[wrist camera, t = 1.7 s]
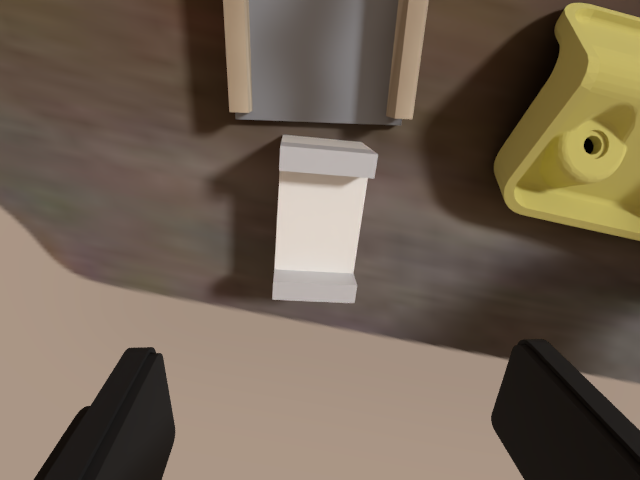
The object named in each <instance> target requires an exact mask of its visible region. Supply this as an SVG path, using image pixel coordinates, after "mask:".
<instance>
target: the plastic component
mask: <svg viewBox="0 0 640 480" xmlns="http://www.w3.org/2000/svg"><path fill="white" fill-rule="evenodd" d="M554 32H555V37H556V39H557V41H558V43H559V45H560V51H559V56H558V59H557V63H556V65H555V67H554V70H553V72H552V74H551V75H550V77H549V79H548V80H547V82H546V83H545V85H544V86H543V88H542V89H541V91H540V92H539V93H538V95H537V96H536V98H535V99H534V101H533V102H532V104H531V105H530V107H529V108H528V110H527V111H526V112H525V114H524V115H523V117H522V118H521V120H520V121H519V123H518V124H517V126H516V127H515V129H514V130H513V131H512V133H511V134H510V136H509V137H508V139H507V140H506V142H505V143H504V145H503V146H502V148H501V149H500V150H499V152H498V154H497V156H496V159H495V162H494V174H495V177H496V180H497V182H498V185H499V187H500V190H501V193H502V195H503V198H504V201H505V203H506V204H507V206H508V207H509V208H510V209H511V210H512V211H514V212H516V213H518V214H520V215H525V216H529V217H534V218H538V219H543V220H547V221H552V222H556V223H561V224H565V225H570V226H575V227H579V228H584V229H588V230H593V231H597V232H602V233H606V234H611V235H615V236H620V237H625V238H629V239H634V240H638V241H640V18H639V17H635V16H631V15H628V14H624V13H620V12H617V11H613V10H609V9H606V8H602V7H599V6H595V5H591V4H585V3H572V4H569V5H567V6H566V8H565V9H564V11H563V12H562V14H561V15H560V17H559V19H558V20H557V22H556V24H555V30H554ZM587 138H588V139H590V140H591V141H592V143H593V145H594V147H593V151H592V153H591V154H588V153H587V152H586V151H585V149H584V141H585V140H586V139H587Z"/></svg>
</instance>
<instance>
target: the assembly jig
mask: <svg viewBox="0 0 640 480" xmlns="http://www.w3.org/2000/svg"><path fill="white" fill-rule="evenodd" d="M428 1H429V0H223V8H224V26H225V43H226V61H227V78H228V96H229V112H235V116H236V119H243V120H270V121H296V122H323V123H350V124H377V125H401V122H402V119H412V118H413V111H414V104H415V96H416V89H417V82H418V74H419V67H420V60H421V52H422V45H423V38H424V30H425V23H426V16H427V8H428Z"/></svg>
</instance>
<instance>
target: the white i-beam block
mask: <svg viewBox="0 0 640 480" xmlns="http://www.w3.org/2000/svg"><path fill="white" fill-rule="evenodd" d="M377 159H378V154H377V153H375V152H374V151H373V150H371V149H370V148H369V147H367V146H366V145H365V144H363V143H362V142H355V141H345V140H334V139H323V138H313V137H302V136H291V135H283V136H282V141H281V145H280V161H279V171H280V174H279V193H278V212H277V231H276V249H275V268H274V278H273V294H272V300H292V301H315V302H337V303H354V302H355V296H356V290H357V283H356V280H355V277H354V274H353V272H354V265H355V259H356V252H357V246H358V239H359V233H360V226H361V219H362V213H363V206H364V200H365V193H366V187H367V180H368V178H374V177H375V171H376V165H377Z"/></svg>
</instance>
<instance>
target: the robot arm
mask: <svg viewBox="0 0 640 480" xmlns="http://www.w3.org/2000/svg"><path fill="white" fill-rule="evenodd" d="M491 421H492V425H493V428H494V430H495V432H496V433H497V435H498V437H499V438H500V440H501V442H502V443H503V445H504V447H505V448H506V450H507V452H508V453H509V455H510V456H511V458H512V460H513V461H514V463H515V465H516V466H517V468H518V470H519V471H520V473H521V475H522V476H523V478H524V479H525V480H640V430H639V429H637V428H636V426H635V425H634V424H632V423H631V422H630V421H629V420H628V419H627V418H626V417H625V416H624V415H623V414H622V413H621V412H620V411H619V410H618V409H617V408H616V407H615V406H614V405H613V404H612V403H611V402H610V401H609V400H608V399H607V398H606V397H604V396H603V394H602V393H600V392H599V391H598V390H597V389H596V388H595V387H594V386H593V385H592V384H591V383H590V382H589V381H588V380H587V379H586V378H585V377H584V376H583V375H582V374H581V373H580V372H579V371H578V370H577V369H576V368H575V367H574V366H573V365H572V364H571V363H569V362H568V361H567V360H566V359H565V358H564V357H563V356H562V355H561V354H560V353H559V352H558V351H557V350H556V349H555V348H554V347H553V346H552V345H551V344H550V343H549V342H547V341H546V340H543V339H531V340H521V341H519V343H518V344H517V345H516V346H514V347H513V349H512V352H511V356H510V359H509V362H508V365H507V368H506V371H505V375H504V378H503V381H502V384H501V387H500V391H499V393H498V396H497V399H496V403H495V406H494V409H493V412H492V416H491ZM174 438H175V425H174V419H173V413H172V408H171V401H170V396H169V390H168V384H167V378H166V373H165V367H164V360H163V356H162V354H161V353H156V352H155V349H154V348H152V347H147V348H128V349H127V350H126V351H125V352H124V354H123V355H122V357H121V359H120V360H119V362H118V363H117V365H116V367H115V368H114V370H113V371H112V373H111V374H110V376H109V378H108V379H107V381H106V382H105V384H104V385H103V387H102V389H101V390H100V392H99V393H98V395H97V397H96V398H95V400H94V401H93V403H92V404H91V406H86V407H84V408H83V409H82V410H80V411H79V413H78V414H77V415H76V416H75V418H74V419H73V421H72V422H71V424H70V425H69V427H68V428H67V430H66V431H65V433H64V434H63V436H62V437H61V439H60V441H59V442H58V444H57V445H56V447H55V448H54V450H53V451H52V453H51V454H50V456H49V457H48V459H47V460H46V462H45V463H44V465H43V466H42V468H41V469H40V471H39V472H38V474H37V475H36V477H35V478H34V480H162V477H163V473H164V470H165V467H166V464H167V461H168V458H169V455H170V452H171V449H172V446H173V443H174Z"/></svg>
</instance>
